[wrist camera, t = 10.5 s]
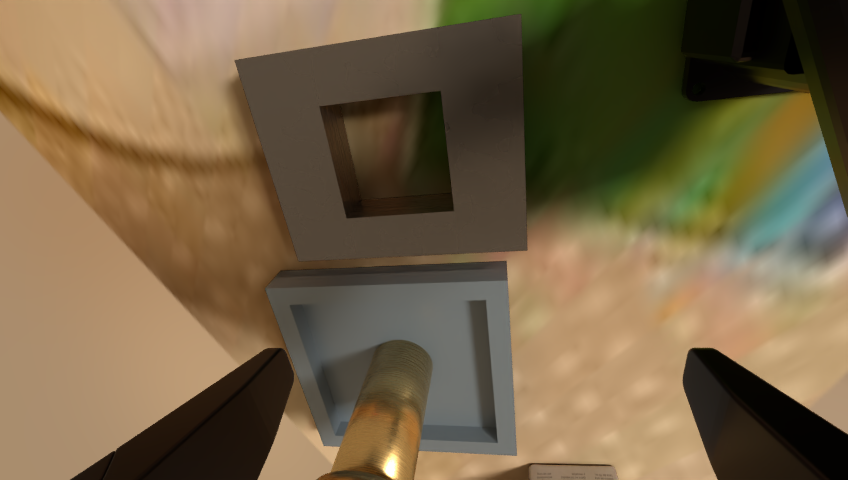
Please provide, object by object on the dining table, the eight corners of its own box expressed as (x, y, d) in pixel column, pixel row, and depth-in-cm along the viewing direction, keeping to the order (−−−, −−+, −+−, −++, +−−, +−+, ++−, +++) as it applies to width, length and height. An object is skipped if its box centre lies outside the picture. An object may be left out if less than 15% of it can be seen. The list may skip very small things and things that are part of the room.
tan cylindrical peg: (436, 331, 24) (407, 493, 16) (446, 392, 27) (425, 563, 18) (356, 332, 25) (288, 485, 17) (372, 391, 28) (319, 551, 19)
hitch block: (517, 16, 17) (521, 13, 15) (523, 228, 21) (527, 250, 19) (263, 57, 19) (234, 60, 17) (316, 240, 24) (298, 261, 21)
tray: (506, 261, 22) (507, 280, 21) (515, 429, 28) (516, 455, 27) (280, 270, 25) (264, 288, 23) (333, 422, 31) (323, 445, 30)
